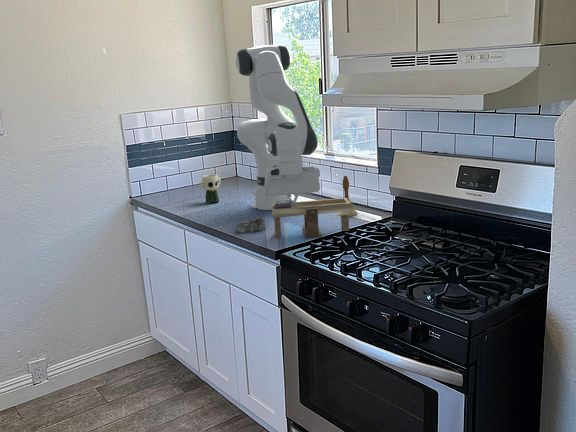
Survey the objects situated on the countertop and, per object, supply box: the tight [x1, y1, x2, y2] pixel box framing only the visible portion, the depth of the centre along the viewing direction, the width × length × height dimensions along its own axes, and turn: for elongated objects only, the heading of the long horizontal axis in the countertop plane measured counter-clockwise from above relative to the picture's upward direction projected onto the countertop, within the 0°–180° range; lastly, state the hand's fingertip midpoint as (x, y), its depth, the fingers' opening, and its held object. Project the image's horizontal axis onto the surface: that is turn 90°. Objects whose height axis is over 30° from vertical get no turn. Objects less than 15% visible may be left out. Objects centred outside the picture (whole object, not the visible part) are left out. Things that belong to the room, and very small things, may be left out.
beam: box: [271, 197, 350, 219], centre depth 215 cm, size 9×28×3 cm, turn 93°
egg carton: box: [236, 216, 266, 233], centre depth 227 cm, size 11×8×4 cm
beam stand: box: [273, 208, 350, 239], centre depth 216 cm, size 14×27×10 cm, turn 93°
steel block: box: [274, 200, 291, 209], centre depth 214 cm, size 5×6×4 cm
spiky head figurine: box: [199, 174, 222, 203], centre depth 277 cm, size 11×7×13 cm, turn 126°
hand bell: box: [336, 175, 359, 217], centre depth 238 cm, size 8×8×16 cm
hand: (293, 205), depth 214 cm, fingers closed
